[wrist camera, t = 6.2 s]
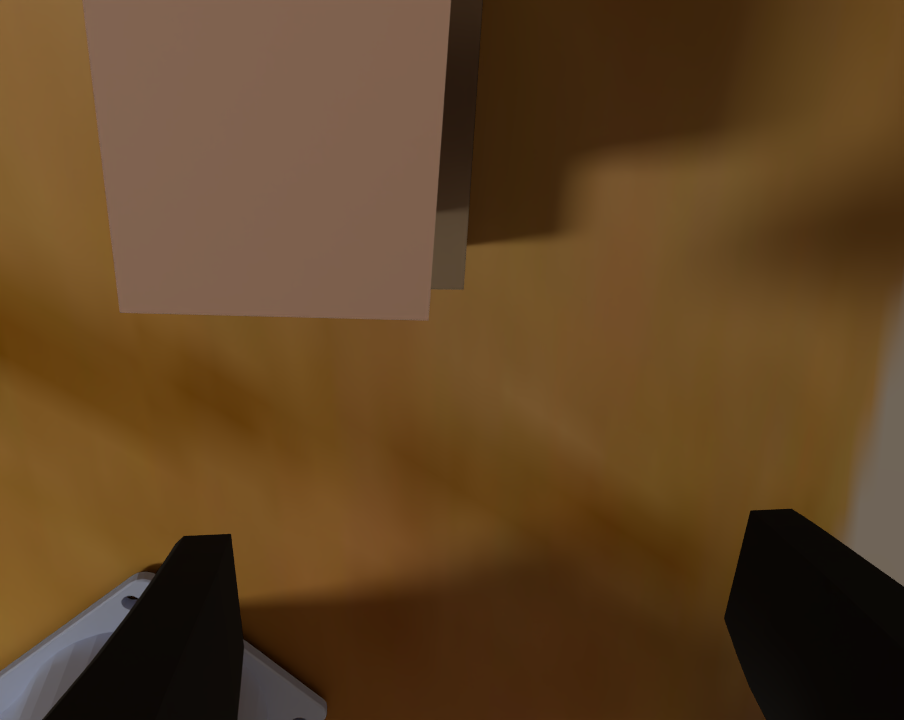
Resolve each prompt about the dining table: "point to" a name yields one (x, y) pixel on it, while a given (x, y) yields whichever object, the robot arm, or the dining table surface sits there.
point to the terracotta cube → (271, 153)
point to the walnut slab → (457, 145)
